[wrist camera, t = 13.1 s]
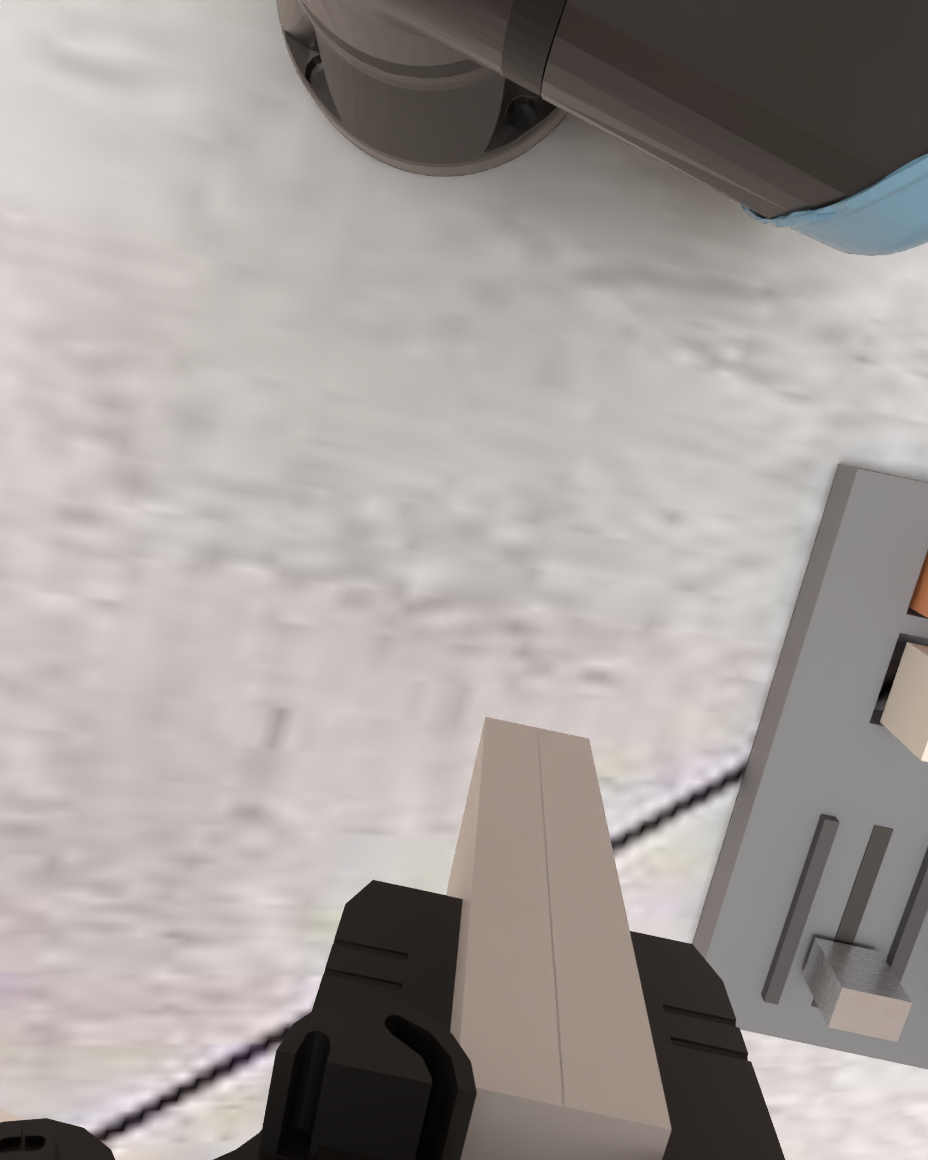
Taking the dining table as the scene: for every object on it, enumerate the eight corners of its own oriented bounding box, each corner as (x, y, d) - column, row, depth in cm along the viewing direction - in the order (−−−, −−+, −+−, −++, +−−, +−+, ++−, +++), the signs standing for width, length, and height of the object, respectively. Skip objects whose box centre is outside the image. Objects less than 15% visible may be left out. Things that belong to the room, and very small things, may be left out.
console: (838, 464, 45) (869, 472, 41) (1183, 535, 45) (1245, 551, 41) (679, 988, 52) (692, 1036, 48) (973, 1050, 52) (1009, 1103, 48)
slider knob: (815, 937, 48) (842, 987, 44) (879, 951, 48) (912, 1002, 44) (802, 974, 48) (827, 1027, 44) (866, 988, 48) (897, 1041, 44)
